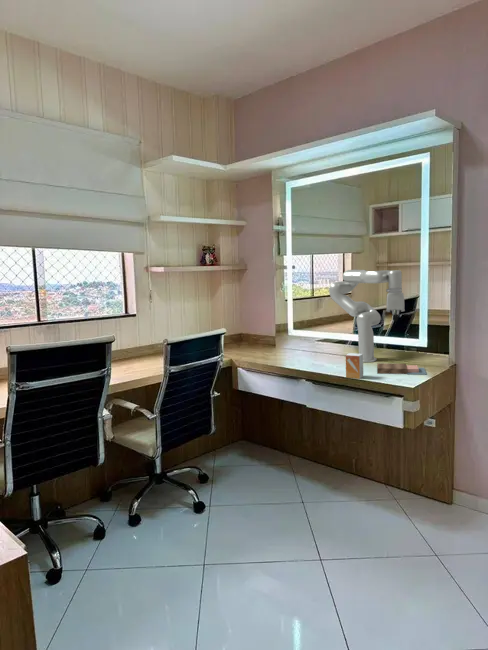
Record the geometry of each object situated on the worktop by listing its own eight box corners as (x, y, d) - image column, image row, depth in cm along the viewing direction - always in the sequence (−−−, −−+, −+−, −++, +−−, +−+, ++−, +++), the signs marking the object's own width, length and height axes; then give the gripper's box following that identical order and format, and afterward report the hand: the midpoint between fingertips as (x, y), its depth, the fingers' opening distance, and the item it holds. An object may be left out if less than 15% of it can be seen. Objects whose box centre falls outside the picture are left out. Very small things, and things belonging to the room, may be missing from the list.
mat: (407, 374, 243) (407, 373, 243) (405, 368, 257) (405, 367, 257) (426, 374, 240) (426, 374, 240) (423, 368, 254) (423, 367, 254)
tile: (407, 372, 246) (407, 368, 245) (406, 368, 254) (406, 365, 254) (418, 372, 244) (418, 369, 244) (417, 368, 252) (417, 365, 252)
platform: (377, 373, 249) (377, 368, 248) (377, 368, 261) (377, 363, 261) (407, 373, 244) (407, 368, 243) (405, 368, 256) (405, 363, 256)
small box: (345, 377, 243) (345, 355, 242) (349, 375, 249) (349, 352, 247) (360, 379, 239) (359, 355, 237) (363, 376, 244) (363, 353, 242)
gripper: (382, 291, 260) (382, 322, 262) (408, 290, 256) (409, 321, 258) (382, 291, 267) (382, 320, 269) (408, 290, 263) (408, 320, 265)
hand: (395, 321), depth 264 cm, fingers closed
